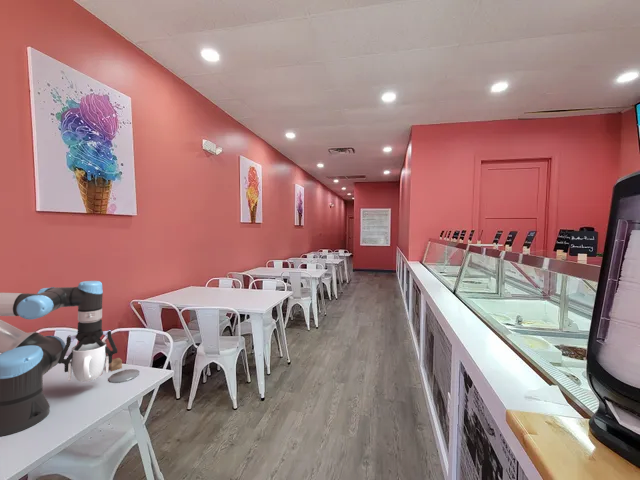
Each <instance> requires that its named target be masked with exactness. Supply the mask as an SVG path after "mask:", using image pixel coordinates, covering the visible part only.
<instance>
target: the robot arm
mask: <svg viewBox="0 0 640 480" xmlns="http://www.w3.org/2000/svg"><path fill="white" fill-rule="evenodd" d="M103 294H104V291H103V283H102V282H101V281H100V280H84V281H81V282H79V283H78V286H67V287H66V286H64V287H55V286H51V287H43V288H40V289H39V290H38V291H37V293H27V292H26V293H24V292H22V293H21V292H19V293H18V292H0V317H20V318H23V319H25V320H36V319H40V318H43V317H45V316H47V315H49V314H51V313H53V312H54V311H56V310H58V309H60V308H70V307H71V308H72V307H77V321H78V322H77V333H76V334H75V335H71V334H70V335H67V336H66V343H65V341H64V340H63V338H61V337H59V336H57V335H45V336H44V335H42V334H41V333H39V332H37V331H30V332H26V331H24V330H22V329H20V328H18V327H16V326H14V325H13V324H10V323H8V322H6V321H5V320H2V319H0V437H2V436H3V437H4V436H7V435H12V434H15V433H18V432H21V431H23V430H26V429H28V428H31V427H33V426H35V425H37V424H38V423H40V422H42V421H43V420H44V419H45V418H47V416H49V414H50V412H51V411H50V403H49V401H48V399H47V398H46V396H45V393H44V392H43V390H44V389H43V387H44V386H43V379H44V378H43V376H44V375H45V374H47V373H48V372H49V371H50V370H51V369H53V368H54V367H55V366H57V365H58V364H63V365H64V367H63V368H64V370H63V371H64V373H67V381H68V382H70V381H72V374H73V370H72V361H71V359H72V358H73V352H72V351H71V352H70V353H69V355H68V356H67V357H66V355H67V353H68V350H69V348H70V346H71V343H73V342H74V340H75V339H76V340H77V341H78V343H77V346H76V345H75V346H76V347H75V348H74V349H73V350H75V351H78V350H79V349H80V347H81V346H82V345H88V344H95V343H97V344H98V345H99V346H100V347H102V346H104V345H105V344H104V343H103V341H104V340H102V339H101V338H102V336H103V335H104V337H106V338H107V340H108V342H109V345H110V347H111V349H112V350H111V349H110V348H109V347H108V346H105V352H106V353H107V354H106V363H105V373H106V374H108V373H109V363H112V359H113V355H115V354H117V353H119V352H118V348H117V346H116V343H115V341H114V339H113V336H112V330H111V329H108V330H104V331H103V299H104V297H103ZM65 357H66V358H65Z"/></svg>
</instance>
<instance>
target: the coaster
mask: <svg viewBox="0 0 640 480" xmlns="http://www.w3.org/2000/svg"><path fill="white" fill-rule="evenodd" d="M139 376H140V371H139V370H138V369H135V368H134V369H132V368H131V369H128V368H127V369H124V370H120V371H117V372H114V373H113V374H112V375H110V376H109V379H108V381H109V382H110V383H111V384H112V383H113V384H120V383H124V382H125V383H126V382H129V381H132V380H134V379H135V378H137V377H139Z"/></svg>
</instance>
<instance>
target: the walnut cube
mask: <svg viewBox="0 0 640 480" xmlns="http://www.w3.org/2000/svg"><path fill="white" fill-rule="evenodd" d="M121 369H123V359H121V358H120V357H116V358H112V363H109V364H108V370H110V371H111V372H113V371H114V372H115V371H117V370H121Z"/></svg>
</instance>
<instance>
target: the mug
mask: <svg viewBox="0 0 640 480" xmlns="http://www.w3.org/2000/svg"><path fill="white" fill-rule="evenodd" d="M102 341H103V343H104V344H105V345H104V346H102V347H100V346H99V345H98V344H97V343H95V344H88V345H82V346H81V347H80V349H79V350H78V351H75V350H73V349H74V348H75V347H76V346H77V345H74V346H73V347H72V348H71V352H73V358H72V359H71V360H70V361H72V374H73V376H74V378H75V379H76V380H77V381H78V382H81V383H87V382H92V381H93V380H94V381H95V380H97V379H98V378H99V377H101V376H102V375H101V373H102V374H103V372H104V369H105V367H106V355H108V354H107V353H106V352H105V346H107V345H108V343H107V342H106V341H104V340H102ZM107 347H108V346H107ZM100 375H101V376H100Z"/></svg>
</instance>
